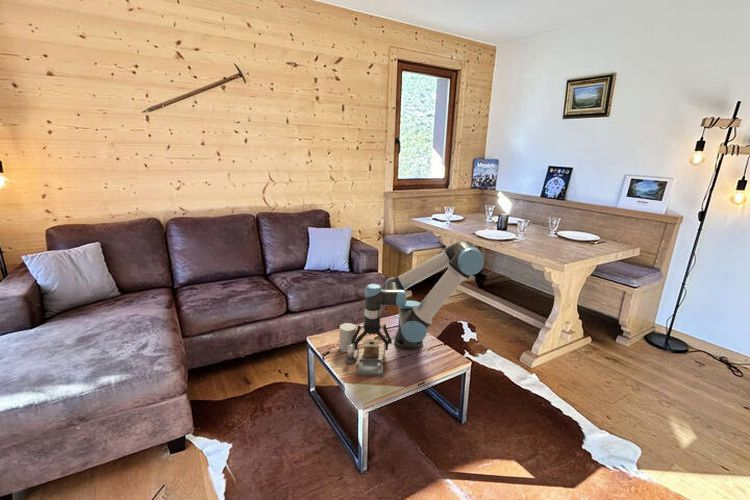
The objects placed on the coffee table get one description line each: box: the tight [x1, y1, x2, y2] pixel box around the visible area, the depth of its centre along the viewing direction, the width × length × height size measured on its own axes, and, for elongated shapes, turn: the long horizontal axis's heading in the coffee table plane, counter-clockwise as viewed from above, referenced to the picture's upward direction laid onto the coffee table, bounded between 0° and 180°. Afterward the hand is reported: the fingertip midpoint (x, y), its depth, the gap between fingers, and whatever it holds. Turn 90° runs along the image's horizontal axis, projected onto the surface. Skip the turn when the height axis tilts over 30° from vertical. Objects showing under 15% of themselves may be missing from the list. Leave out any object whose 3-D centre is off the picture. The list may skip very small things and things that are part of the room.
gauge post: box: [345, 344, 357, 365], centre depth 181 cm, size 5×5×8 cm
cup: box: [339, 322, 357, 353], centre depth 192 cm, size 8×8×12 cm
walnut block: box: [363, 338, 380, 359], centre depth 186 cm, size 7×7×7 cm
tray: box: [357, 358, 384, 377], centre depth 176 cm, size 11×11×2 cm
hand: (371, 355), depth 187 cm, fingers open, 12 cm apart
